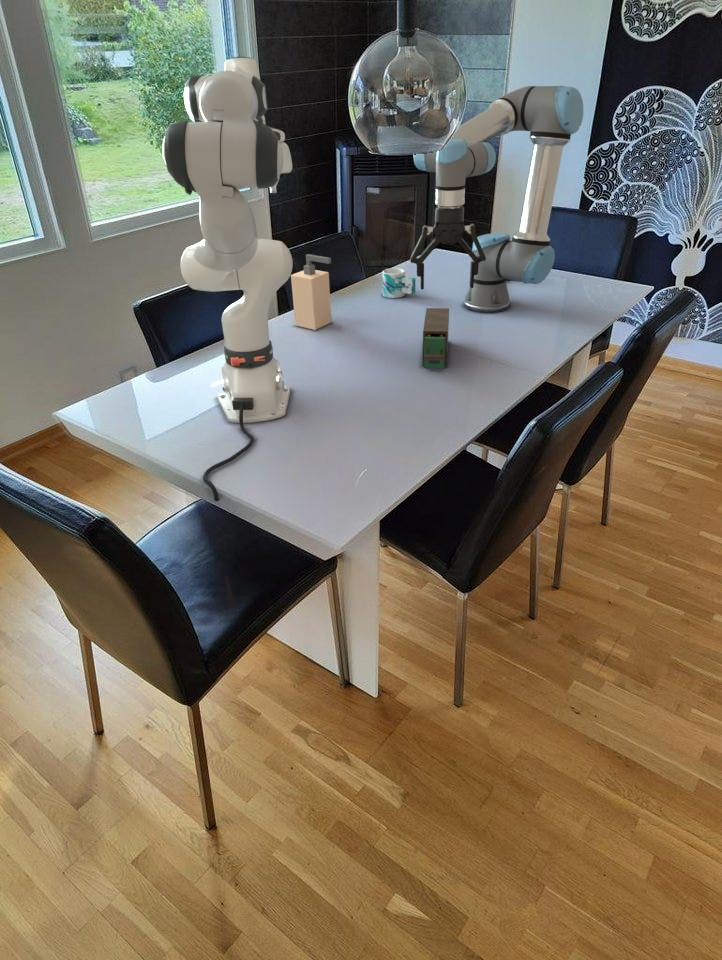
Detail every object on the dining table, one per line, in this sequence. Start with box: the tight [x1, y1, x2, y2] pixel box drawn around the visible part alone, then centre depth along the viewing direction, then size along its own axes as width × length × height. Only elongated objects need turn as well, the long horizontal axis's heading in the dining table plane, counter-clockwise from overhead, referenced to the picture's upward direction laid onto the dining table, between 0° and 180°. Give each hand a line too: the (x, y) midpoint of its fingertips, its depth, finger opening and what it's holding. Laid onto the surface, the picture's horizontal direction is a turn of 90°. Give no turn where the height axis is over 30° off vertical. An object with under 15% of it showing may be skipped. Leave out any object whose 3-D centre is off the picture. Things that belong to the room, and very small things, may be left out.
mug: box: [381, 267, 417, 299], centre depth 238 cm, size 8×12×8 cm
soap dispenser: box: [290, 253, 333, 331], centre depth 211 cm, size 13×9×22 cm
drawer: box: [423, 334, 445, 369], centre depth 186 cm, size 23×6×9 cm, turn 173°
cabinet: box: [422, 307, 450, 368], centre depth 191 cm, size 19×7×10 cm, turn 173°
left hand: (255, 194), depth 173 cm, fingers open, 8 cm apart
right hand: (446, 287), depth 185 cm, fingers open, 13 cm apart
